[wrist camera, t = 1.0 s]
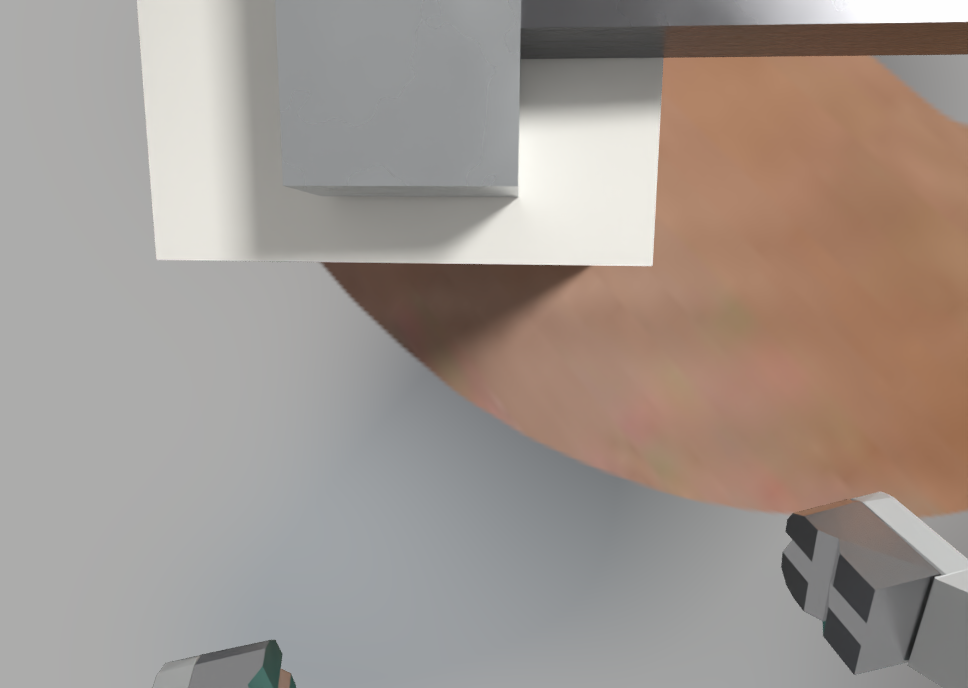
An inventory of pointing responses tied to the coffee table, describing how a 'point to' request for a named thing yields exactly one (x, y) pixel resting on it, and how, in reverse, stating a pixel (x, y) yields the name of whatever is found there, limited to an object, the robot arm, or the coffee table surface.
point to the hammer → (519, 73)
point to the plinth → (386, 220)
